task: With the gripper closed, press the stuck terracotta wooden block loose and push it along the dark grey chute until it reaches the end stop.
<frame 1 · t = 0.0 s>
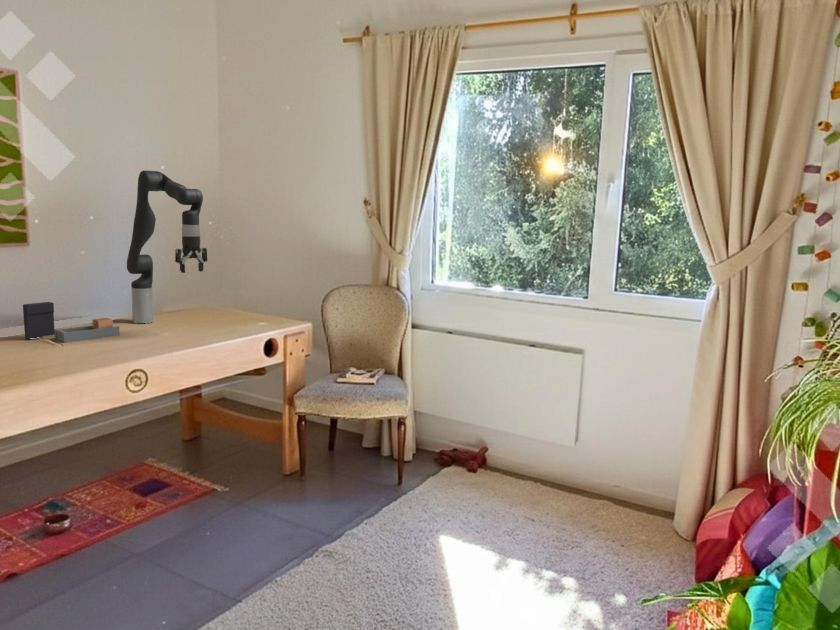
hand: (191, 272, 289), 29 cm above the table, tool pointing down, fingers open, 8 cm apart
block: (102, 327, 286), point 4 cm above the table, slide at 0.0 cm
dark grey upright box: (40, 338, 281), on the table
chute: (89, 339, 282), on the table
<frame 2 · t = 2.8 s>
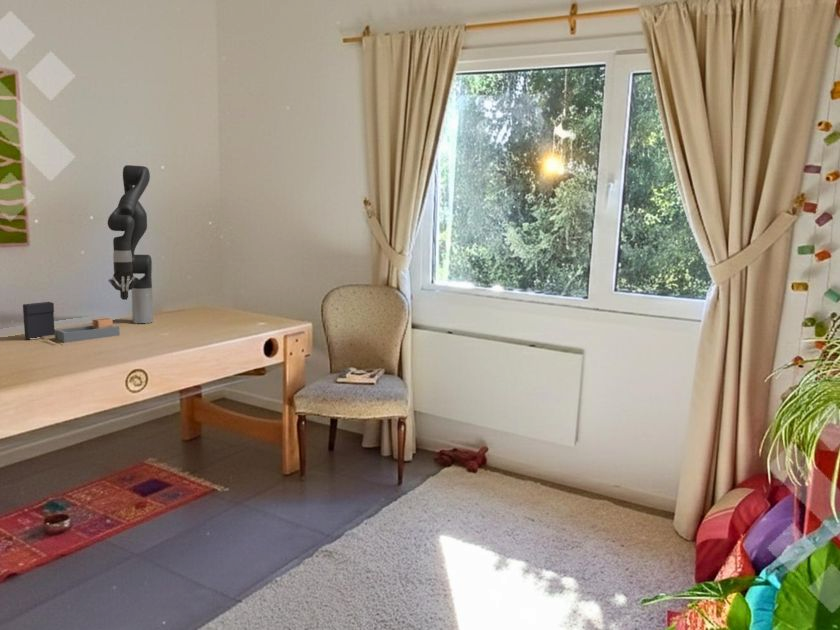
hand: (124, 299, 291), 16 cm above the table, tool pointing down, fingers closed
nothing on the table moved.
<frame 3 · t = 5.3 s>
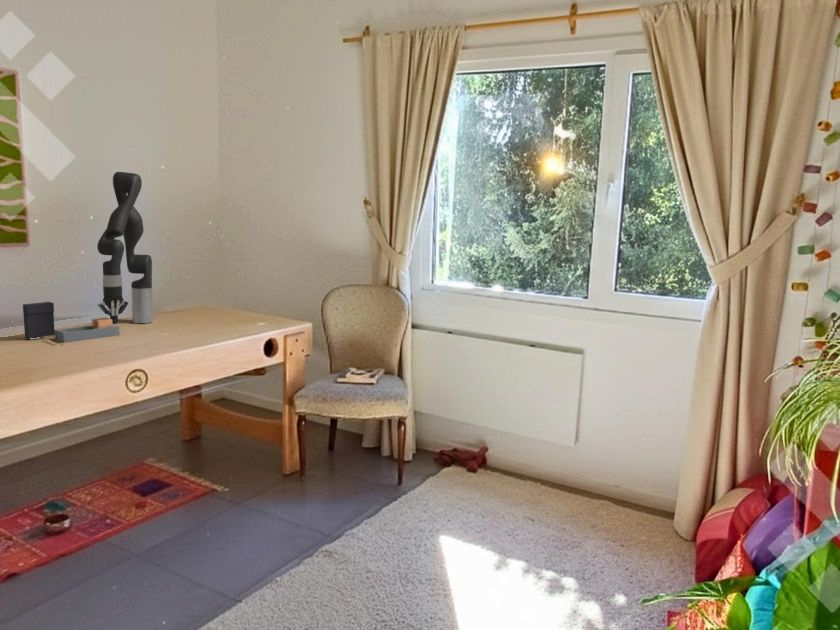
hand: (114, 323, 289), 5 cm above the table, tool pointing down, fingers closed
block: (102, 327, 286), point 4 cm above the table, slide at 0.1 cm, touching gripper
everything else where it was.
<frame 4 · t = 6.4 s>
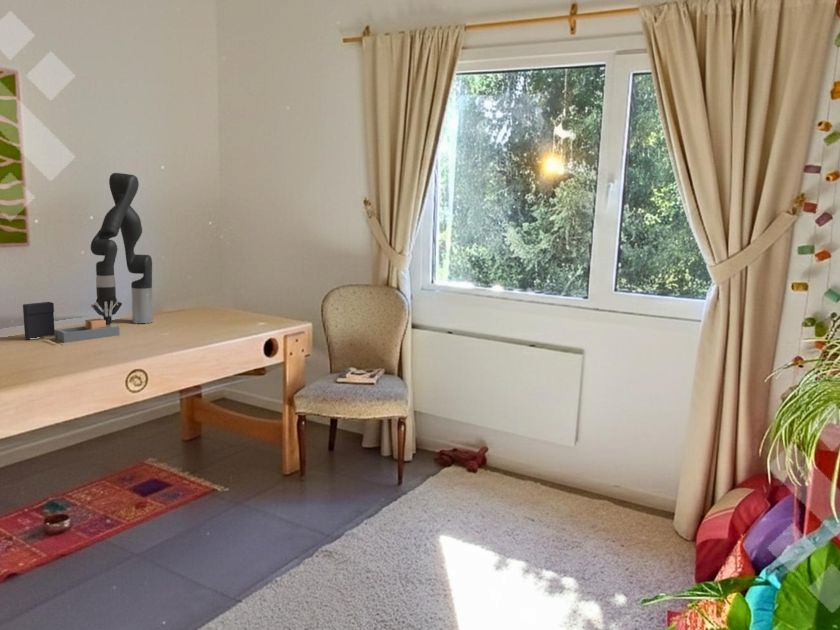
hand: (107, 324, 287), 5 cm above the table, tool pointing down, fingers closed
block: (95, 328, 284), point 4 cm above the table, slide at 3.0 cm, touching gripper
everything else where it was.
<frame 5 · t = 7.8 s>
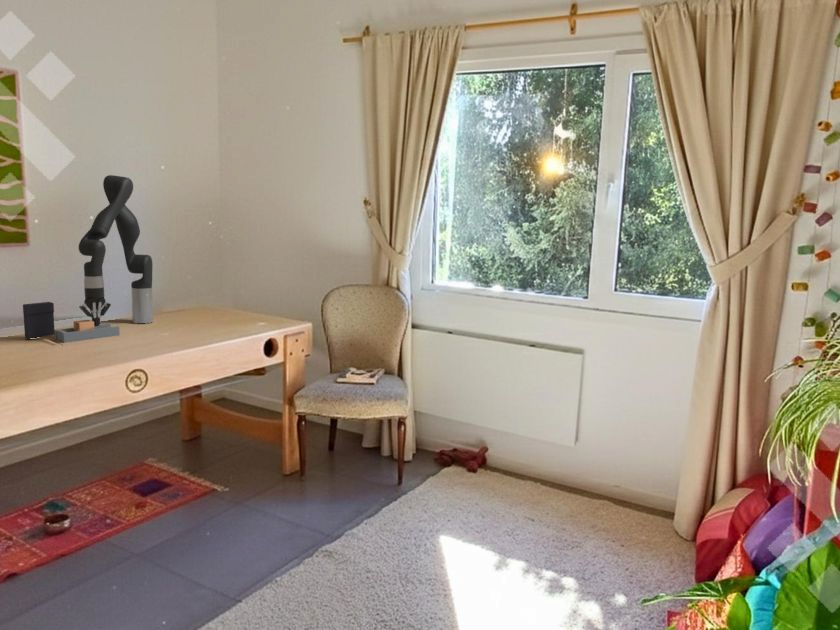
hand: (96, 325, 283), 5 cm above the table, tool pointing down, fingers closed
block: (84, 329, 280), point 4 cm above the table, slide at 7.9 cm, touching gripper
everything else where it was.
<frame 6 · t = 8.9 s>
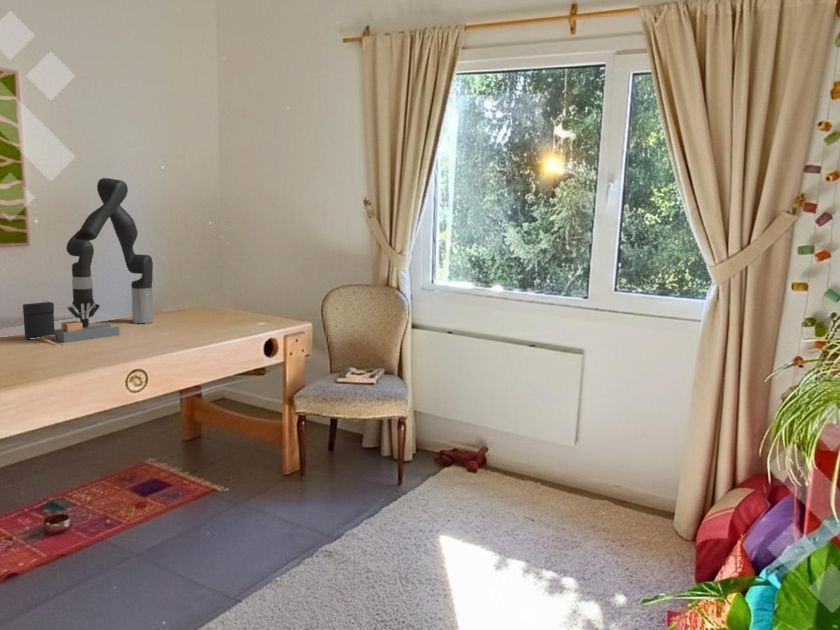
hand: (84, 327, 280), 5 cm above the table, tool pointing down, fingers closed
block: (72, 331, 276), point 4 cm above the table, slide at 12.7 cm, touching gripper
everything else where it was.
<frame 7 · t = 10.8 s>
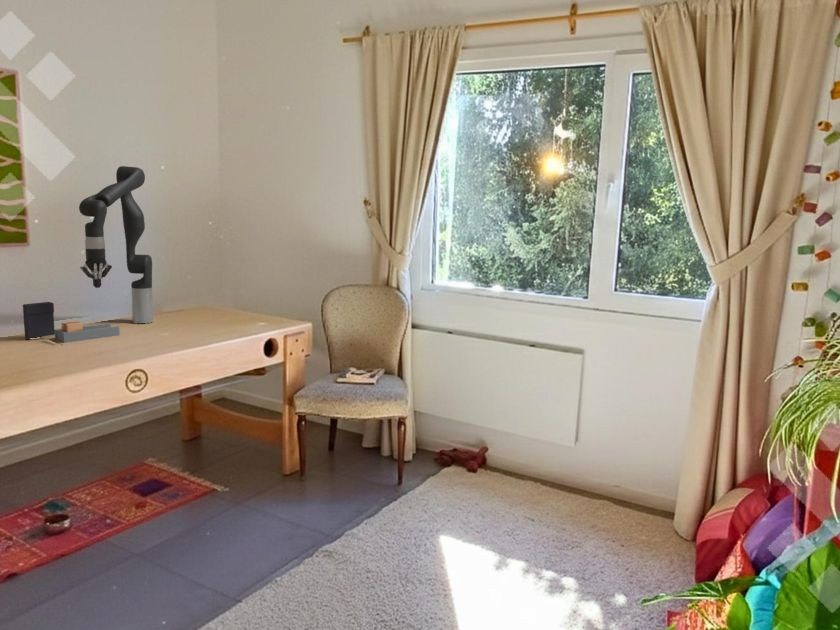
hand: (97, 287, 282), 22 cm above the table, tool pointing down, fingers closed
block: (72, 331, 276), point 4 cm above the table, slide at 12.7 cm
everything else where it was.
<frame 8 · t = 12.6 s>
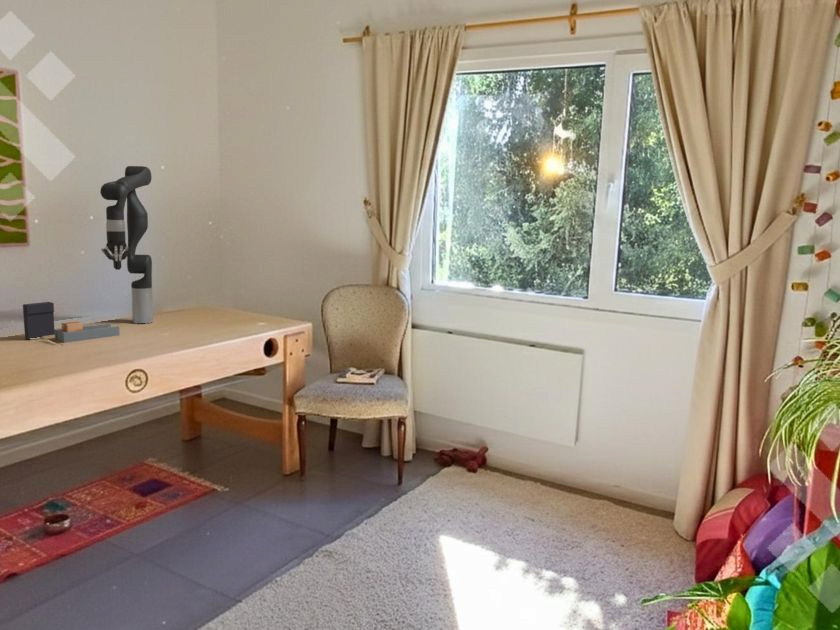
hand: (117, 269, 290), 29 cm above the table, tool pointing down, fingers closed
nothing on the table moved.
at the end: block slide at 12.7 cm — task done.
